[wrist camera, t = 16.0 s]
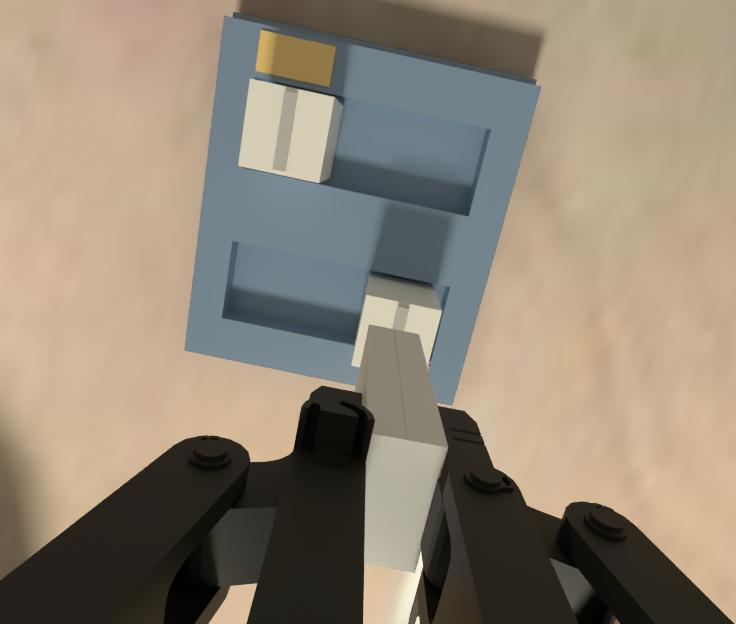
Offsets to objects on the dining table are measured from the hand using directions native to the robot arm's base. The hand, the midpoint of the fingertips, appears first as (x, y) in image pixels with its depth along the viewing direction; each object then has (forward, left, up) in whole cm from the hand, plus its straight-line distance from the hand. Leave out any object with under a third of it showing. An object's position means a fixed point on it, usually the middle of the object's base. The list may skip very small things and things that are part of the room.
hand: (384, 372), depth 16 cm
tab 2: (+1, -3, -18) cm, 18 cm away
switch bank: (-2, +1, -19) cm, 19 cm away
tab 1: (-6, +6, -18) cm, 20 cm away
